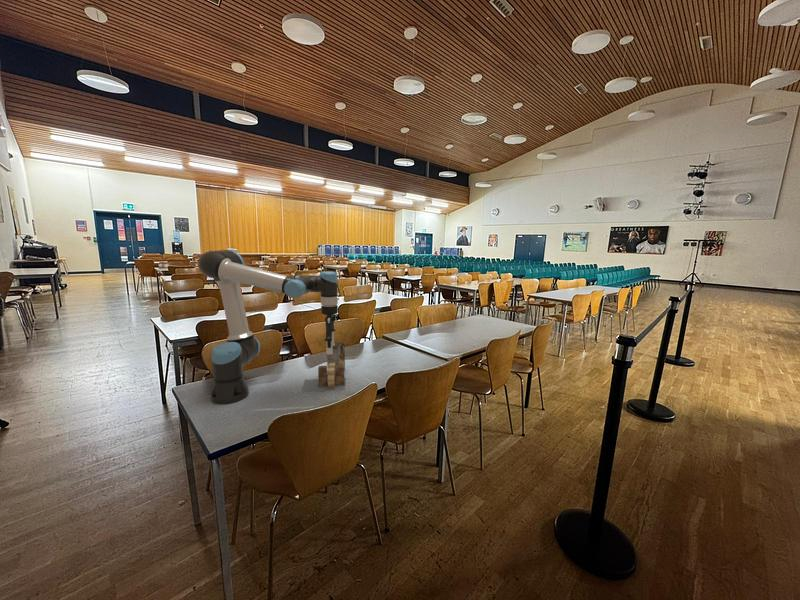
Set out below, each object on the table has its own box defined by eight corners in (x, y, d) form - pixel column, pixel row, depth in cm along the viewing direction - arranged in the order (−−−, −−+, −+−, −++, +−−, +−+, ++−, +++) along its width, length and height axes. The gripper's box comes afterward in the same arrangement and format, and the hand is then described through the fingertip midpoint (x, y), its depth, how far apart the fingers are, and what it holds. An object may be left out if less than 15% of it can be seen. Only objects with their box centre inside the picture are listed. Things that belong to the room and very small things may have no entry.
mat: (300, 394, 152) (300, 392, 152) (305, 381, 165) (305, 379, 165) (345, 392, 155) (345, 390, 154) (345, 379, 168) (345, 377, 168)
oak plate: (334, 388, 156) (334, 370, 154) (328, 389, 155) (327, 370, 154) (335, 380, 165) (335, 362, 164) (329, 380, 165) (328, 363, 163)
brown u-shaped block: (318, 386, 158) (318, 368, 156) (319, 383, 161) (318, 366, 159) (344, 385, 160) (344, 367, 158) (344, 382, 163) (344, 364, 161)
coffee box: (334, 370, 180) (333, 341, 178) (345, 371, 179) (344, 342, 176) (327, 376, 172) (326, 347, 169) (339, 378, 170) (338, 347, 167)
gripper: (336, 310, 142) (337, 358, 146) (338, 300, 166) (339, 341, 170) (318, 310, 141) (319, 358, 145) (323, 300, 165) (324, 341, 169)
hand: (330, 349), depth 157 cm, fingers open, 13 cm apart
